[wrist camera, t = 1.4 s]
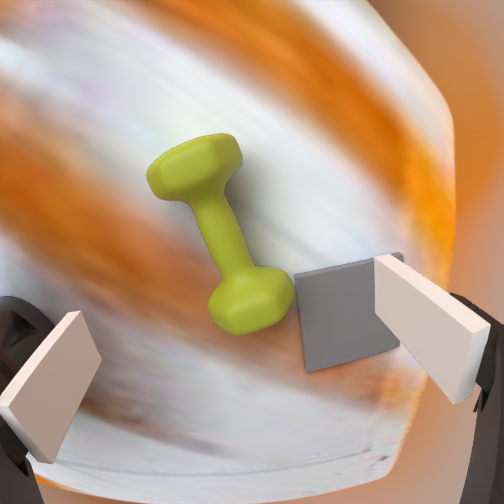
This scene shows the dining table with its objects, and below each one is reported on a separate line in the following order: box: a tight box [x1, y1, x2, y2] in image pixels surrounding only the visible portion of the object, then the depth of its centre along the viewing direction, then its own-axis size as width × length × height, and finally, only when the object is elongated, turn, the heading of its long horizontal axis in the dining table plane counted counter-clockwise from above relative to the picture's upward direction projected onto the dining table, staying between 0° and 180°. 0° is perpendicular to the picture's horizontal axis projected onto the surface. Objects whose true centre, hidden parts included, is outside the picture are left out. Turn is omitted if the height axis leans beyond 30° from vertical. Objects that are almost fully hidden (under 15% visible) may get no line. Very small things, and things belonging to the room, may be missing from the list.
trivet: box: [294, 252, 403, 372], centre depth 33 cm, size 12×12×1 cm
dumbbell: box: [146, 133, 295, 335], centre depth 26 cm, size 16×8×7 cm, turn 21°
